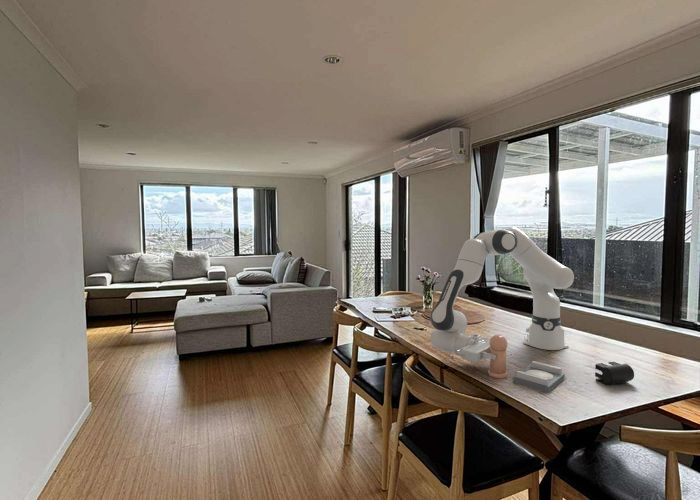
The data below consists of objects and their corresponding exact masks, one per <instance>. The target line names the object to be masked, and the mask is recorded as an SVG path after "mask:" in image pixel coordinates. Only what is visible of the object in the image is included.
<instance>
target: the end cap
mask: <svg viewBox="0 0 700 500" xmlns="http://www.w3.org/2000/svg"><path fill="white" fill-rule="evenodd" d="M594 367H595V368H594V369H595V370H597V371H600V372H601V373H599V372H597V371H595V372H594V376H595V381H596V382H598V383H600V384H603V385H605V386H608V385H616V384H623V383H624V384H625V383H628V382H630V381H632V380H634V378H635V372H634V371H635V370H634V369H633V367H632V366H631V365H629V364H628V363H622V364H621V363H618V362H616V361H608V364H605V363H602V362H600V363H596V364H595V366H594Z"/></svg>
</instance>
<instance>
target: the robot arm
mask: <svg viewBox="0 0 700 500" xmlns="http://www.w3.org/2000/svg"><path fill="white" fill-rule="evenodd" d="M507 254H509V255H510V256H511V258H513V259H514V260H515V261H516V262H517V263H518V264H519V265H520V267H522V268H523V272H522V274H523V278H524V279H525V280H526V282H527V283H528V286H529V289H530V291H531V294H532V301H533V302H532V307H533V309H532V315H531V324H530V325H529V326H528V327H526V328H525V333H527V334H525V337H524V339H523V344H524V345H528V346H531V347H534V348H537V349H542V350H548V351H559V350H562V349H568V348H569V344H567V343H566V342H565V329H564V328H563V327H562V326H561V325H562V323H561V322H562V317H561V301H560V298H559V297H558V295H556V292H555V291H554V289H557V290H563V289H567V288H570V287H571V286H572V285H573V283H574V282H575V281H574V279H575V274H574V272H573V270H572V269H571V268H569V267H568V266H565V265H564V264H562V263H560V262H559V261H558V260H556V259H555V258H553V257H552V256H550V255H548V254H547V253H546V252H544V251H543V250H542V249H541V248H540V247H539V246H538V245H537V244H536V243H535V242H534V241H533V240H532V239H531V238H530V237H529V236H528V235H527V234H526V233H524V232H523V231H522V230H521V229H519V228H517V227H515V226H508V227H506V228H504V229H493V230H488V231H484V232H479V233H477V234H475V236H473V238H468V239H467V240H466V241H464V243H463V245H462V247H461V249H460V252H459V255H458V257H457V259H456V263H455V266H454V268H453V270H452V271H451V272H450V274H449V275H448V277H447V279H446V282H445V284H444V287H443V289H442V291H441V294H440V296H439V299H438V301H437V303H436V304H435V306H434V307H433V308H432V310H431V313H430V317H429V319H430V323H431V325H432V326H433V328H434V329H433V330H432V331H431V333H430V343H431V344H432V346H433V347H434V348H435V349H437V350H438V351H442V352H445V353H448V354H455V355H457V356H458V357H460V358H461V359H463V360H466V361H469V362H471V363H472V362H473V363H478V362H479V361H481V360H486V359H487V360H490V359H493V360H495V359H497V354H494V353H492V354H490V348H491V347H490V344H489V341H490V339H491V338H489V337H485V336H483V337H482V336H481V335H480V334H465V332H466V329H467V326H468V318H467V316H466V315H465V314H464V313H463V312H461V311H460V310H456V309H454V305H455V302H456V300H457V298H458V295H459V293H460V290H461V289H462V288H463V287H465V286H468V285H471V284H474V283H476V282H478V281H479V279H480V277H481V276H482V272H483V270H484V267H485V266H484V265H485V261H486V258H487V257H488V256H498V255H499V256H500V255H507Z"/></svg>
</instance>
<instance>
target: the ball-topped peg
mask: <svg viewBox="0 0 700 500" xmlns="http://www.w3.org/2000/svg"><path fill="white" fill-rule="evenodd" d="M489 339H490V341H489V344H490V347H491V348H490V354H492V353H494V354H497V359H495V360H493V359H489V361H490V364H489V366H490V367H489V368H488V370H487V371H488V372H487V375H488V376H489V377H491V378H494V379H500V380H502V379H507V378H508V377H509V372H508V370H507V348H508V344H509V343H508V340H507V339H506V337H505V336H503V335H501V334H494V335H493V336H491V337H490V338H489Z"/></svg>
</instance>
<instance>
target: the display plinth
mask: <svg viewBox="0 0 700 500" xmlns="http://www.w3.org/2000/svg"><path fill="white" fill-rule="evenodd" d="M565 377H566V376H565V373H563V372H562V367H560V366H555V365H551V364H547V363H544V362H540V361H535V360H532V361H531V364H530V365H529V366H527V367H526V368H524V369H523V370H517V371H516V374H515V375H513V377H512V378H513V379H512V380H513V381H512V382H513V383H515V384H519V385H521V386H525V387H528V388H532V389H535V390H539V391H541V392H544V393H545V392H546V393H550V392H551V391H552V390H554V389H555V388H556V387H557V386H558V385H559V384H561V383H562V382H563V381H564V380H565Z"/></svg>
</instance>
